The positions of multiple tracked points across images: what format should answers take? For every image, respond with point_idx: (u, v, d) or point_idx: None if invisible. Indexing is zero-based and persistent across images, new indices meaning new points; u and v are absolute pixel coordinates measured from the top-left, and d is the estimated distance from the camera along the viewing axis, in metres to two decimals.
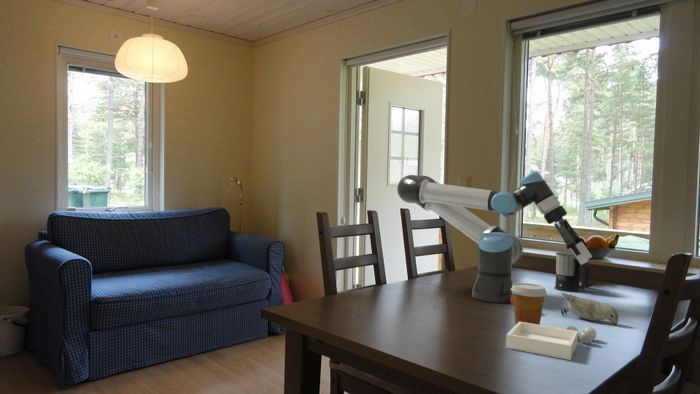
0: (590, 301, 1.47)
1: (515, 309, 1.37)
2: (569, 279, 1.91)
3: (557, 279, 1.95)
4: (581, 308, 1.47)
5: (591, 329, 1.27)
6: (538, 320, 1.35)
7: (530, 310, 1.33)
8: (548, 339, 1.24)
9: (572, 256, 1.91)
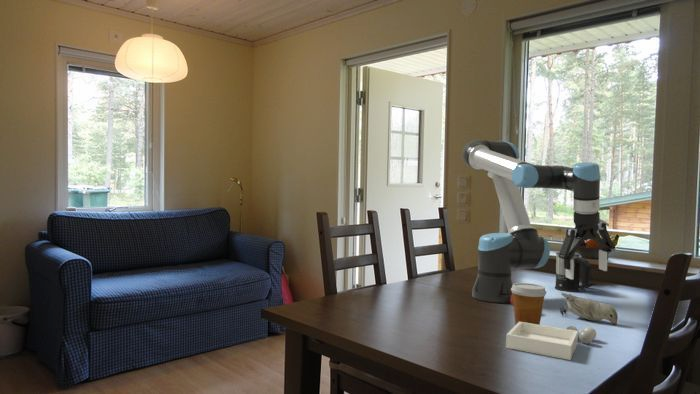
0: (590, 301, 1.47)
1: (515, 309, 1.37)
2: (569, 279, 1.91)
3: (557, 279, 1.95)
4: (581, 308, 1.47)
5: (591, 329, 1.27)
6: (538, 320, 1.35)
7: (530, 310, 1.33)
8: (548, 339, 1.24)
9: None
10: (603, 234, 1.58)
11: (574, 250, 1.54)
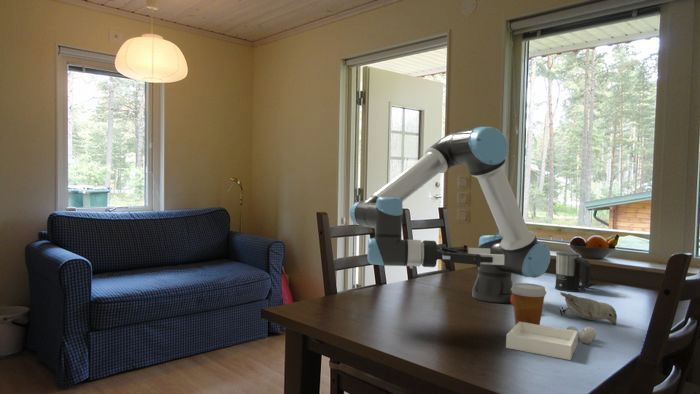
0: (589, 300, 1.47)
1: (515, 309, 1.37)
2: (569, 279, 1.91)
3: (557, 279, 1.95)
4: (580, 307, 1.48)
5: (591, 329, 1.27)
6: (538, 320, 1.34)
7: (530, 310, 1.33)
8: (548, 339, 1.24)
9: (572, 256, 1.91)
10: None
11: None
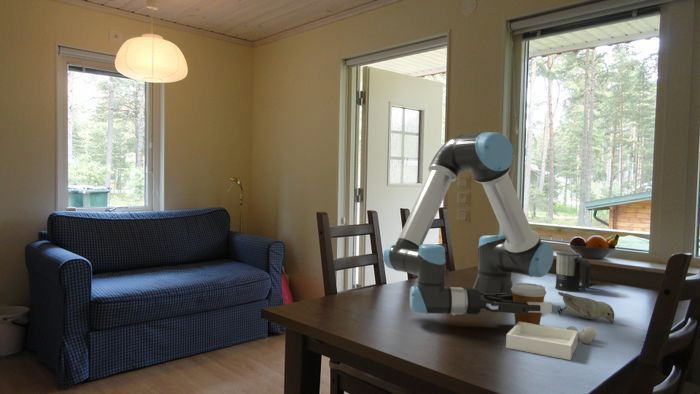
0: (587, 300, 1.49)
1: None
2: (569, 279, 1.92)
3: (557, 279, 1.95)
4: (578, 307, 1.48)
5: (591, 329, 1.27)
6: (538, 320, 1.35)
7: None
8: (548, 339, 1.24)
9: (572, 256, 1.91)
10: None
11: None
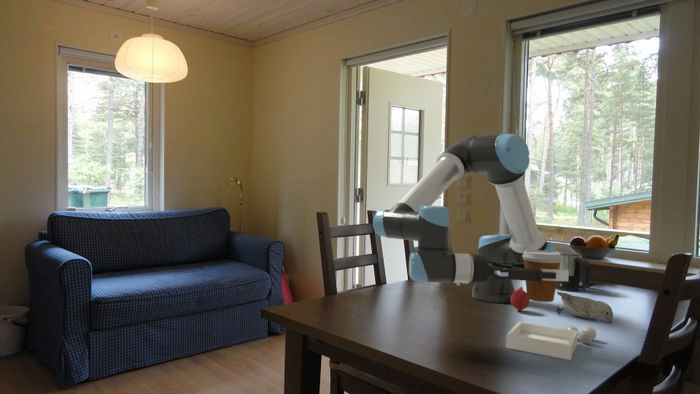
0: (585, 299, 1.49)
1: None
2: (569, 279, 1.92)
3: None
4: (577, 306, 1.49)
5: (591, 329, 1.27)
6: (553, 290, 1.20)
7: None
8: (548, 339, 1.24)
9: (572, 256, 1.92)
10: None
11: None
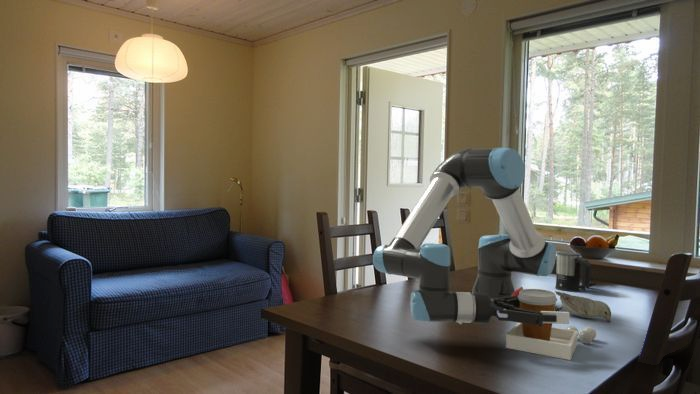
0: (584, 299, 1.50)
1: None
2: (569, 279, 1.92)
3: (557, 279, 1.96)
4: (576, 306, 1.49)
5: (591, 329, 1.27)
6: (549, 330, 1.21)
7: None
8: None
9: (572, 256, 1.92)
10: None
11: None
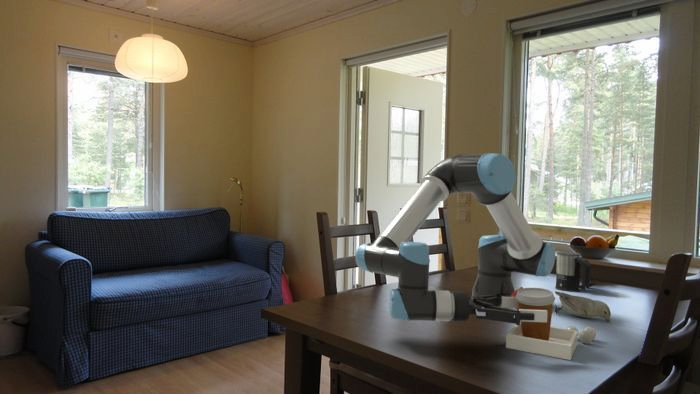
0: (583, 299, 1.50)
1: None
2: (569, 279, 1.92)
3: (557, 279, 1.96)
4: (575, 306, 1.50)
5: (591, 329, 1.27)
6: (548, 329, 1.21)
7: None
8: None
9: (572, 256, 1.92)
10: None
11: None
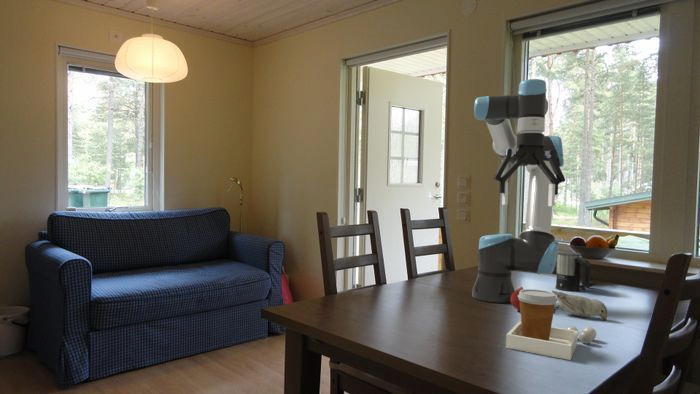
0: (581, 298, 1.51)
1: (523, 319, 1.23)
2: (569, 279, 1.92)
3: (558, 279, 1.96)
4: (573, 305, 1.51)
5: (591, 329, 1.27)
6: (549, 330, 1.22)
7: (541, 320, 1.20)
8: None
9: (572, 256, 1.92)
10: (552, 164, 1.41)
11: (510, 172, 1.41)
